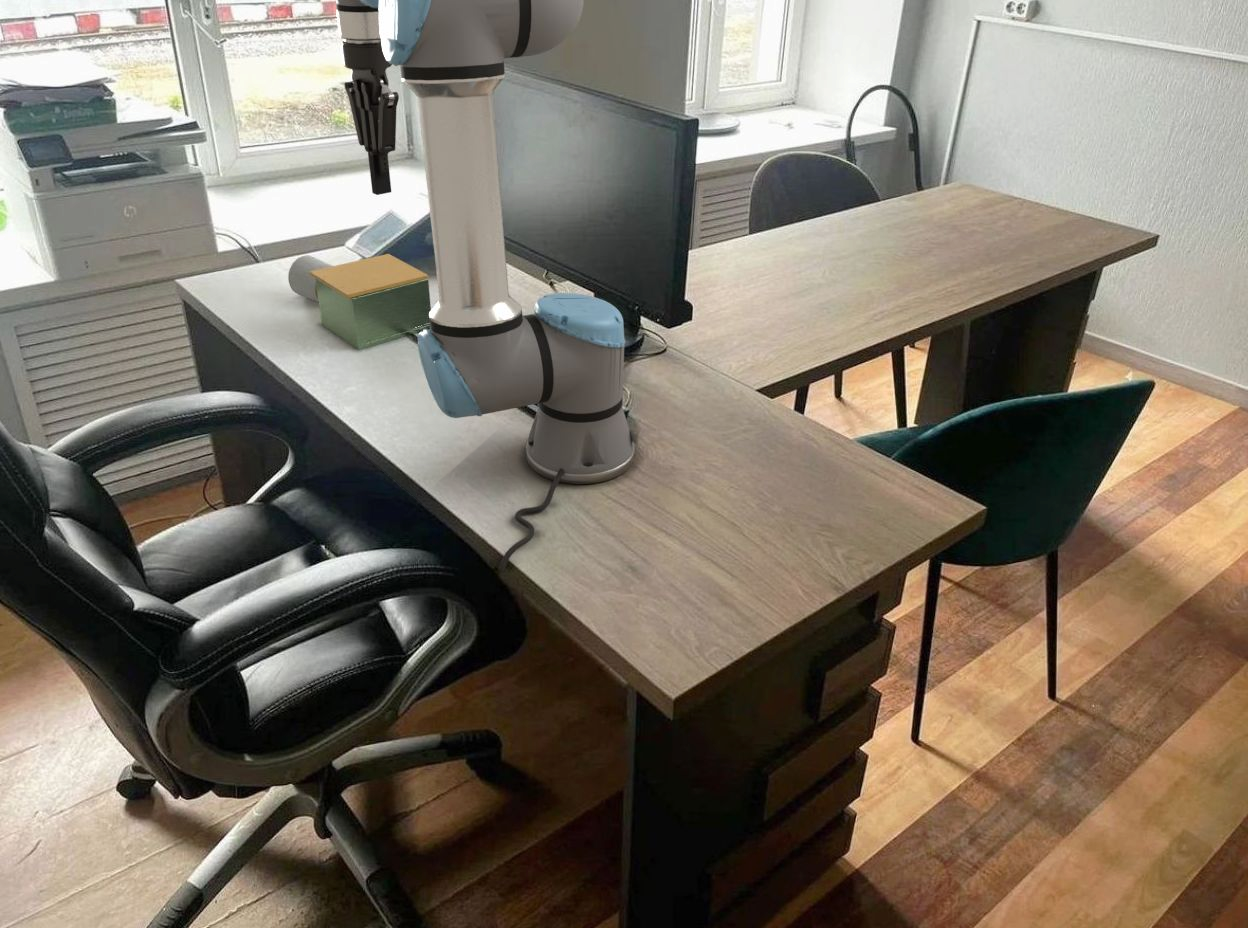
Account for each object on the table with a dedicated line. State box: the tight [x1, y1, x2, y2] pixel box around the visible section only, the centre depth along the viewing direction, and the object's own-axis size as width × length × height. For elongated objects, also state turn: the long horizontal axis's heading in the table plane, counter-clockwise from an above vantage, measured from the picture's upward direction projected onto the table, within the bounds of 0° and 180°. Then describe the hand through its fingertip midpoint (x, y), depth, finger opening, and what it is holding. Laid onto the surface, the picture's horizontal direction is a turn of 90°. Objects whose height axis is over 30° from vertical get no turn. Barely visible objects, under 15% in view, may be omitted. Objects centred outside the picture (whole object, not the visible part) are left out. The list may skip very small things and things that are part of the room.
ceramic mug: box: [287, 254, 333, 303], centre depth 188 cm, size 11×8×8 cm
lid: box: [310, 253, 429, 298], centre depth 174 cm, size 15×14×1 cm
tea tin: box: [315, 278, 432, 351], centre depth 177 cm, size 15×14×9 cm
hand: (381, 192), depth 166 cm, fingers closed
